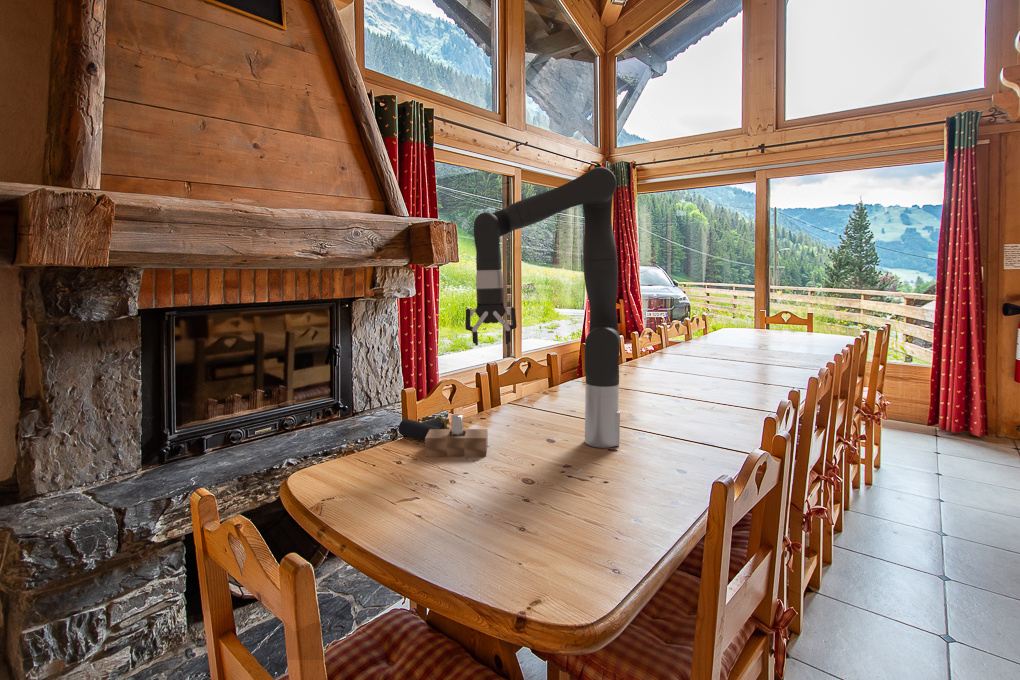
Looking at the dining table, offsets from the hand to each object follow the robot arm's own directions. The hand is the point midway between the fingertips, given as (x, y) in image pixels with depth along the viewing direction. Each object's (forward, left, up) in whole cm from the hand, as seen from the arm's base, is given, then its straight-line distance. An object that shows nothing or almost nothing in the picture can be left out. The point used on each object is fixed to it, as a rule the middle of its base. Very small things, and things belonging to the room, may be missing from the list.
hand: (491, 344), depth 151 cm
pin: (+9, +9, -28) cm, 31 cm away
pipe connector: (+18, -4, -28) cm, 34 cm away
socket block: (+9, +9, -28) cm, 31 cm away
